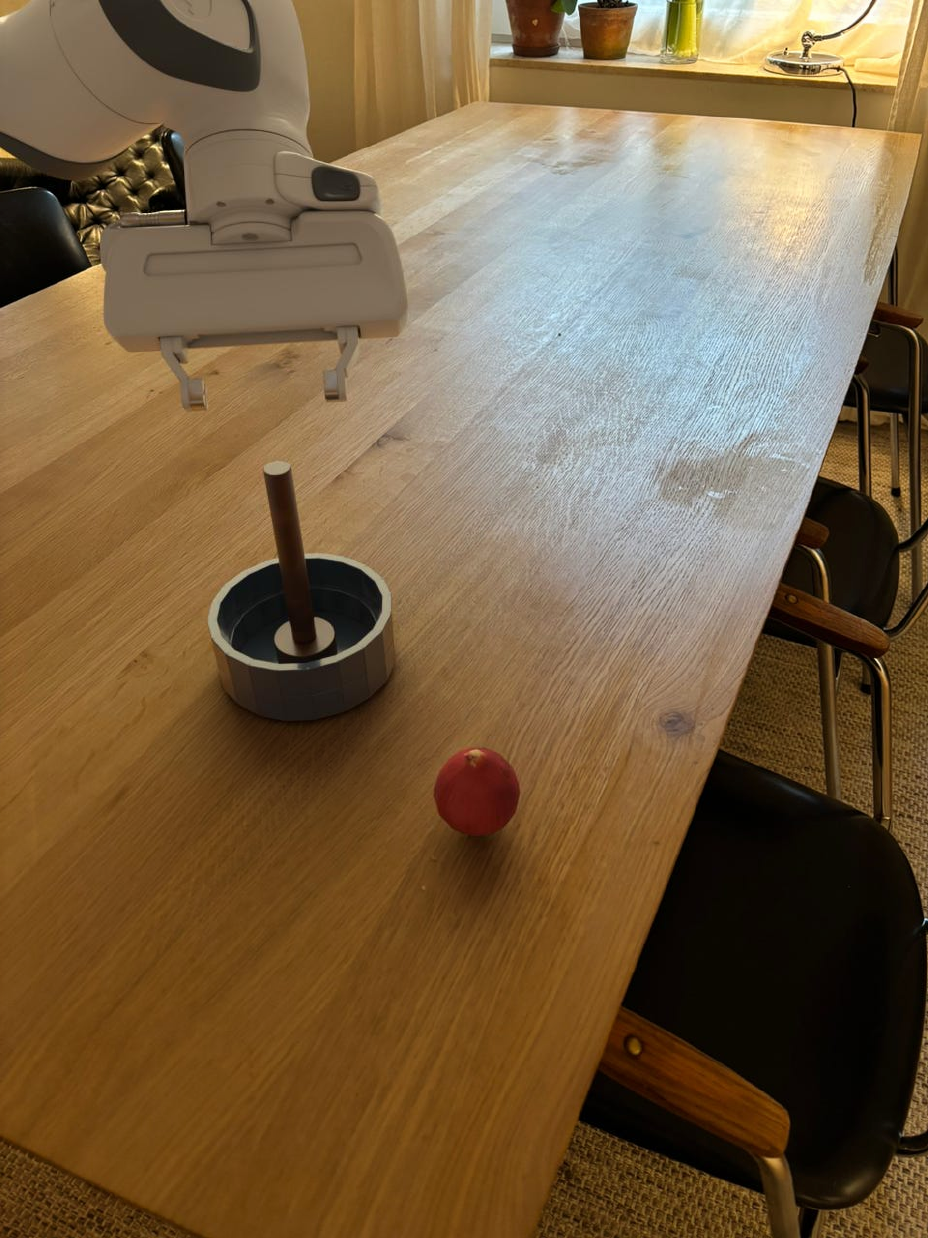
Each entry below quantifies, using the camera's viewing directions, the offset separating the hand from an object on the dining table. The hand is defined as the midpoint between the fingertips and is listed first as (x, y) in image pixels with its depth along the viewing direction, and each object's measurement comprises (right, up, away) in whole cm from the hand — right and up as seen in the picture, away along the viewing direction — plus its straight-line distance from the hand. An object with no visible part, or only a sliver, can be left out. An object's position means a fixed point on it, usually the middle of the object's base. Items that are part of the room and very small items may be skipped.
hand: (266, 404), depth 67 cm
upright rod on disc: (0, -18, +16) cm, 24 cm away
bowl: (0, -18, +16) cm, 24 cm away
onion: (+14, -29, +3) cm, 33 cm away
